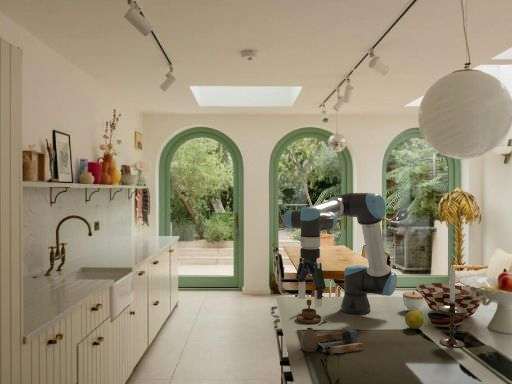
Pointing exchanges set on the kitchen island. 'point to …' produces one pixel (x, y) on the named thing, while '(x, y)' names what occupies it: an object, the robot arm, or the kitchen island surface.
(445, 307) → the candlestick
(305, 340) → the vase
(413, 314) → the lemon
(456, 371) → the kitchen island surface
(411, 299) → the lidded jar
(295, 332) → the kitchen island surface
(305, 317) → the place setting
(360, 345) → the channel
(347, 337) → the lopsided grey dumbbell
